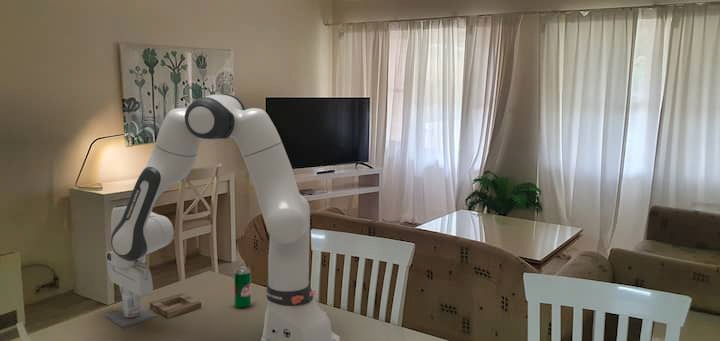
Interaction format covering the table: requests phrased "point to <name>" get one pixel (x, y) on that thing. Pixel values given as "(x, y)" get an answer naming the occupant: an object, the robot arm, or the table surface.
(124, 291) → the pill bottle
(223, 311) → the table surface
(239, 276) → the soda can
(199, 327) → the table surface
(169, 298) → the frame
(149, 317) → the grey mat
